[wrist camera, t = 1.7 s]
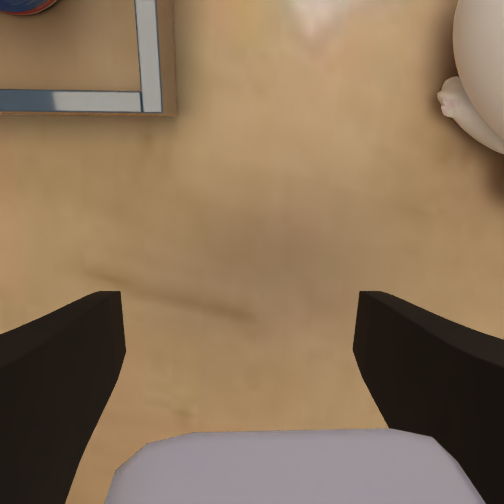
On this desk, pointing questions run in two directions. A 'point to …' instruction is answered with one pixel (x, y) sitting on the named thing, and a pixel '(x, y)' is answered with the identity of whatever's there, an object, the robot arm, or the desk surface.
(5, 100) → the open box
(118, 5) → the desk surface
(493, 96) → the cat figurine
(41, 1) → the pill bottle
